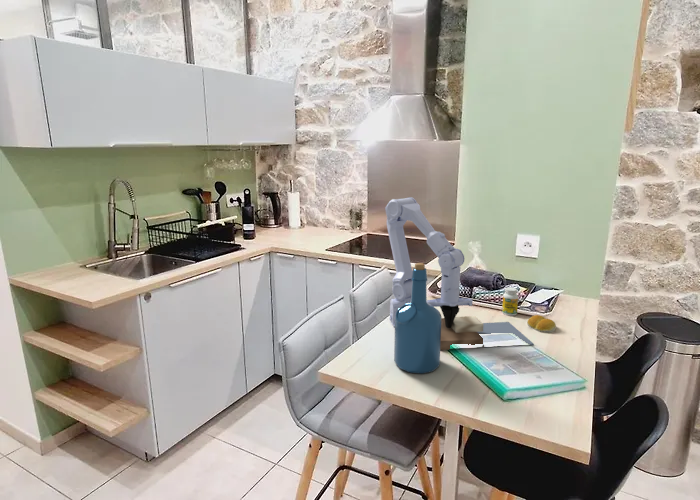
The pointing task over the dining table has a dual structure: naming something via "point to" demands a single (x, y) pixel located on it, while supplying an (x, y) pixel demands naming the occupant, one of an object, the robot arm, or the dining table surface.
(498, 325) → the mat
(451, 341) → the board
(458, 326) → the tile
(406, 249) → the robot arm
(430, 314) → the wine bottle
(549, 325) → the bread roll
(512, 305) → the supplement bottle
